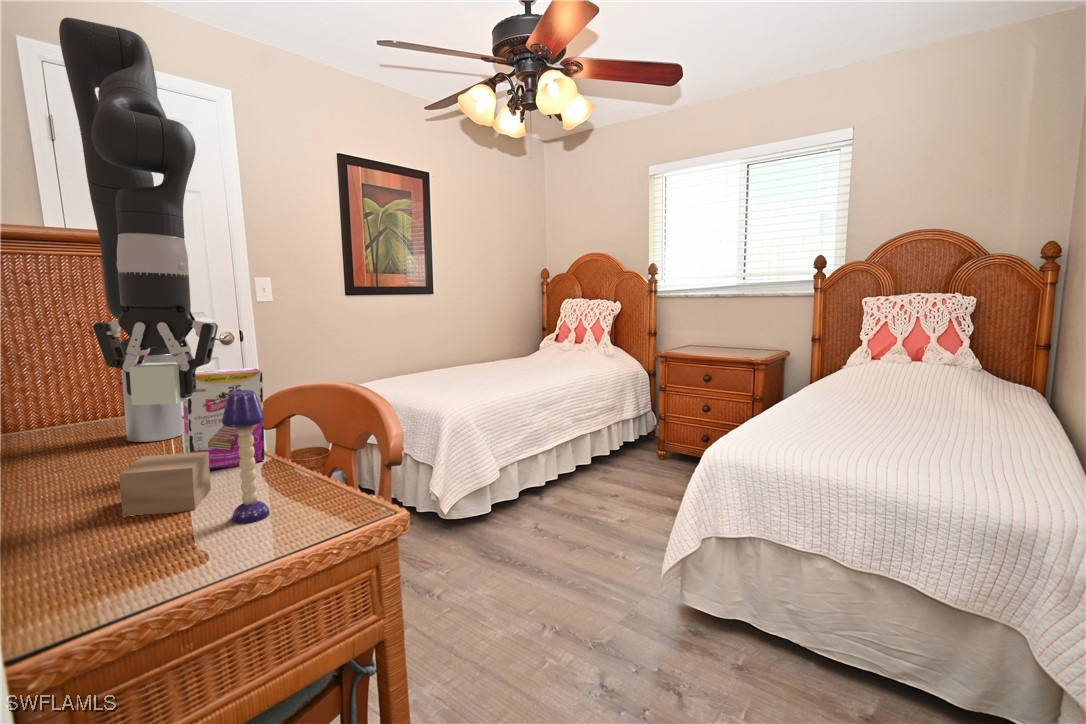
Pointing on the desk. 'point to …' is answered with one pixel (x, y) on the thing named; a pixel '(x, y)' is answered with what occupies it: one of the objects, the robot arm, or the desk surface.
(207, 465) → the walnut block
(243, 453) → the toy lamp
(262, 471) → the desk surface
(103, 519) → the desk surface
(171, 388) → the sage block
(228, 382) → the candy bar box
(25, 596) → the desk surface
